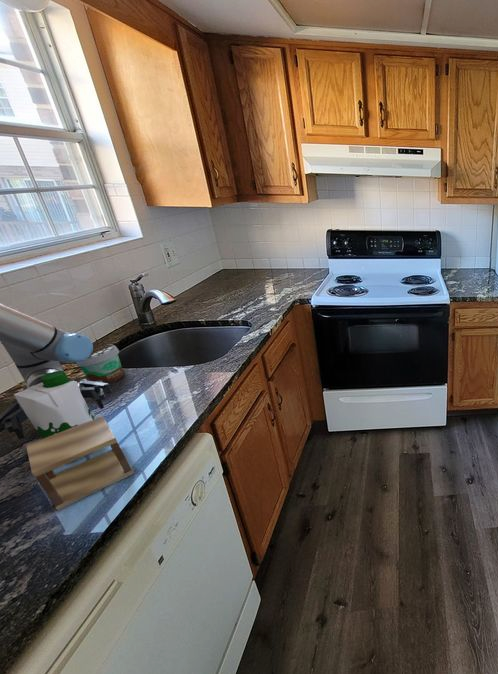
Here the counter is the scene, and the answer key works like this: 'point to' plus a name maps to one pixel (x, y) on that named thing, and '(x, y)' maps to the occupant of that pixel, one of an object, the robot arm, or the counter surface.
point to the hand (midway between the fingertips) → (61, 417)
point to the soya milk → (54, 404)
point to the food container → (102, 365)
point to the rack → (84, 475)
